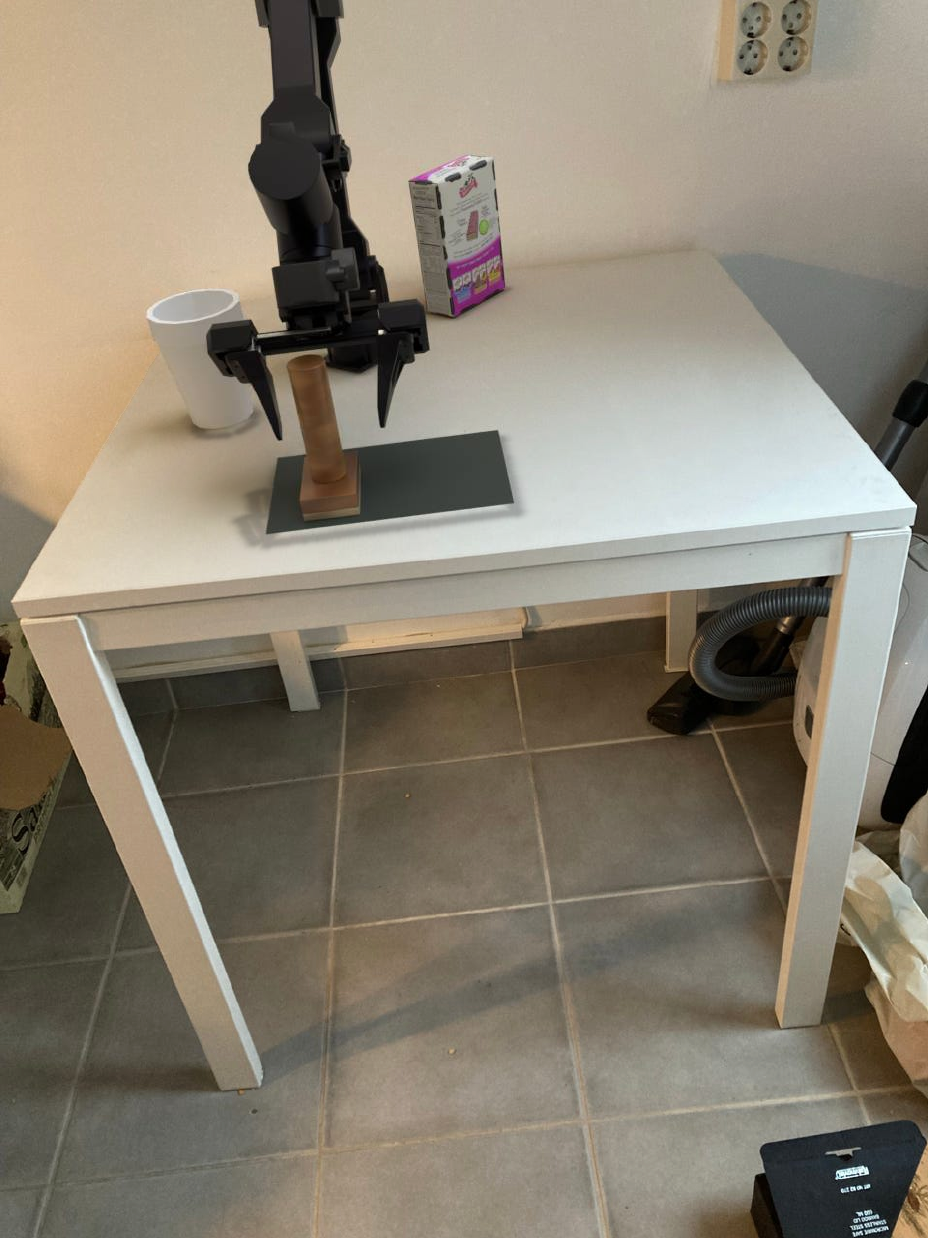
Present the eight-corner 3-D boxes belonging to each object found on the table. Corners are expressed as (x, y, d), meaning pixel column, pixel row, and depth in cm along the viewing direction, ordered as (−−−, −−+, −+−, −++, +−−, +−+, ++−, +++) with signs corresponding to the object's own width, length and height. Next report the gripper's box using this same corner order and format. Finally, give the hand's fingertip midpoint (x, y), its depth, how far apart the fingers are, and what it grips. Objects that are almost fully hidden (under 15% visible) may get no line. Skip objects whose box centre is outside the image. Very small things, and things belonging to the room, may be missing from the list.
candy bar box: (477, 283, 133) (464, 153, 123) (506, 289, 130) (496, 156, 120) (423, 313, 126) (406, 177, 116) (453, 319, 124) (438, 181, 114)
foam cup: (194, 452, 102) (157, 331, 94) (172, 419, 109) (136, 304, 101) (280, 424, 105) (251, 306, 97) (253, 395, 112) (224, 281, 104)
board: (267, 543, 87) (265, 534, 86) (279, 466, 98) (277, 457, 97) (515, 512, 87) (514, 502, 86) (498, 438, 98) (498, 429, 97)
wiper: (304, 522, 87) (272, 385, 79) (308, 477, 93) (279, 346, 85) (360, 514, 87) (333, 377, 79) (360, 470, 93) (336, 339, 85)
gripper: (179, 228, 79) (196, 415, 77) (410, 199, 79) (433, 386, 77) (216, 291, 90) (232, 456, 88) (419, 266, 90) (439, 430, 88)
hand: (330, 432), depth 85 cm, fingers open, 9 cm apart
